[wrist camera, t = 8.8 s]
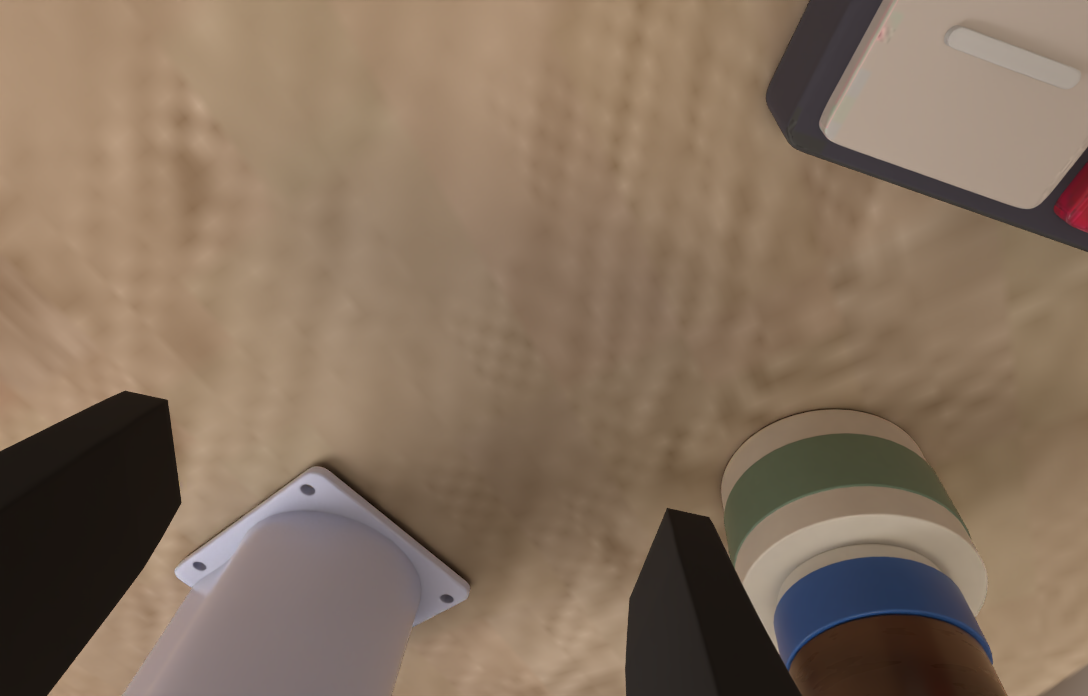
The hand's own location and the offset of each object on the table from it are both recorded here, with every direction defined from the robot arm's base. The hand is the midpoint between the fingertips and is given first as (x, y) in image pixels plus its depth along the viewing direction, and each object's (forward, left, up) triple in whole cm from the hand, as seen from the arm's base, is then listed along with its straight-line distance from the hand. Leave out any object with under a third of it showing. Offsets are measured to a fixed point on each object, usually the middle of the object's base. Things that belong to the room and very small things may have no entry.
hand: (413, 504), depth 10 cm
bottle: (+2, -13, -10) cm, 17 cm away
